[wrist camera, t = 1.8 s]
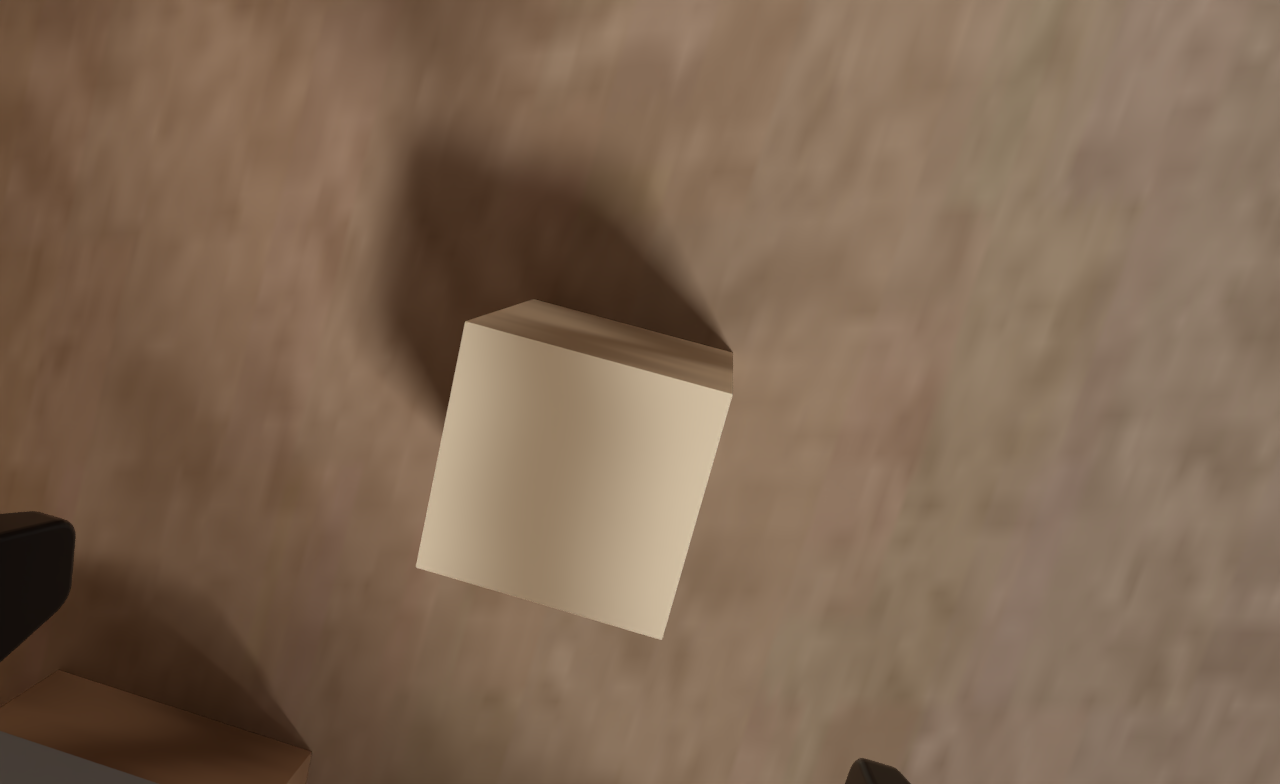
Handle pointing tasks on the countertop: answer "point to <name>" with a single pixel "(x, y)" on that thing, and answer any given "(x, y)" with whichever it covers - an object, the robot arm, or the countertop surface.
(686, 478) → the birch cube
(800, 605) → the countertop surface
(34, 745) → the slate block
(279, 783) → the walnut block
